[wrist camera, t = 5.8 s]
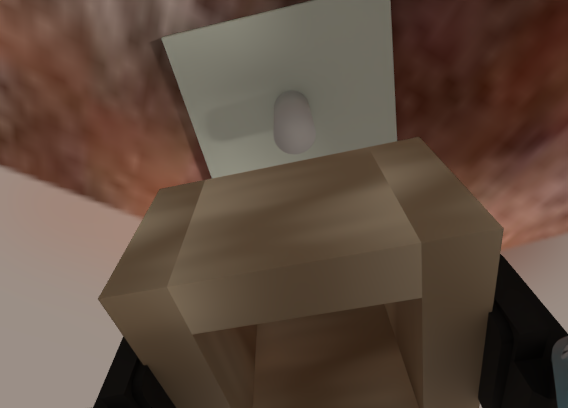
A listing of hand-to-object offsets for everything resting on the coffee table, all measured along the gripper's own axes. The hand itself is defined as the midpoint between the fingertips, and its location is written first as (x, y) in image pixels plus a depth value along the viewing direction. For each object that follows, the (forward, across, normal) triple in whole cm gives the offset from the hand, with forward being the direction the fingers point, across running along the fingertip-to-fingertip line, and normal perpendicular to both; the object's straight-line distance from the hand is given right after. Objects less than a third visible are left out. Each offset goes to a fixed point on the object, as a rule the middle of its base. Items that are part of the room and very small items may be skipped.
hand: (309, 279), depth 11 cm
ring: (+1, 0, 0) cm, 1 cm away
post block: (+18, 0, 0) cm, 18 cm away
